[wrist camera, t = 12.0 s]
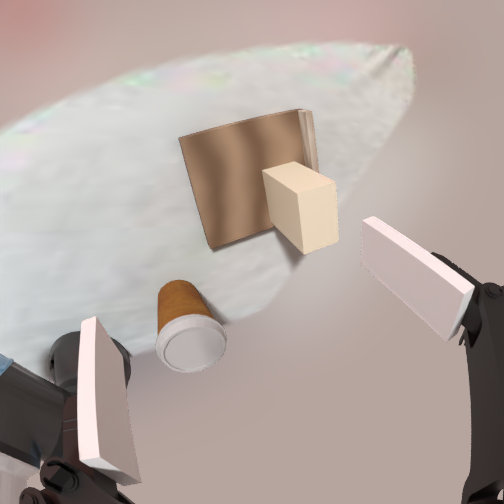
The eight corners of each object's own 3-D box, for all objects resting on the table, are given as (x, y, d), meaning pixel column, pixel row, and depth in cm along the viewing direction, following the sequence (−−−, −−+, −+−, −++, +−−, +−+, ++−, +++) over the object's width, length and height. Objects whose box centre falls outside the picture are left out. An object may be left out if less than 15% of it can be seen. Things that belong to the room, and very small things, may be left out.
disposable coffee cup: (136, 287, 44) (142, 344, 34) (193, 260, 45) (213, 311, 36) (164, 328, 50) (178, 383, 40) (215, 304, 51) (239, 356, 41)
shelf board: (208, 244, 45) (214, 255, 42) (178, 137, 36) (182, 141, 33) (312, 208, 49) (324, 217, 46) (300, 108, 40) (313, 110, 37)
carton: (261, 170, 41) (297, 193, 33) (295, 161, 42) (336, 181, 34) (270, 221, 45) (304, 254, 37) (301, 211, 46) (339, 241, 38)
